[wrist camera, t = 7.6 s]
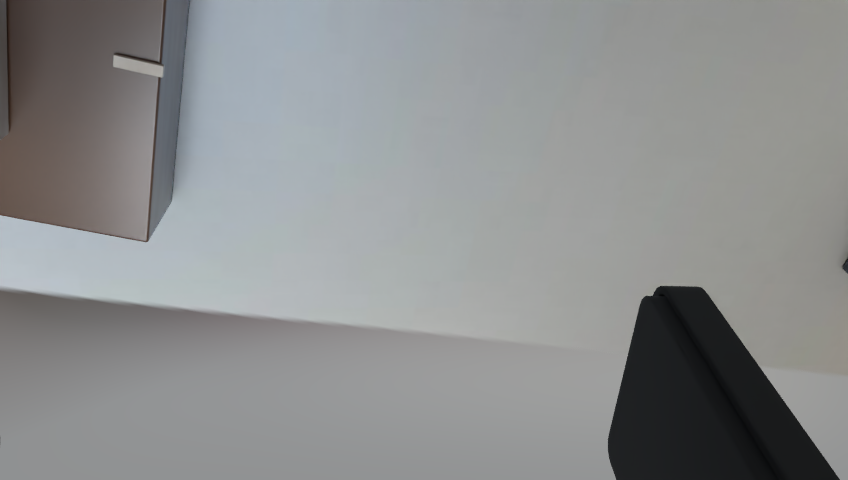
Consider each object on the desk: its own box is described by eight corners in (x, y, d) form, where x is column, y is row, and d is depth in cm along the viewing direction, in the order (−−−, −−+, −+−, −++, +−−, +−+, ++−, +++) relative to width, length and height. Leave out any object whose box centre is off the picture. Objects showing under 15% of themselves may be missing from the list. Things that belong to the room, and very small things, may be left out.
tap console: (174, 203, 26) (149, 246, 23) (-128, 144, 25) (-193, 183, 22) (207, -158, 21) (180, -157, 18) (-181, -265, 19) (-277, -283, 16)
